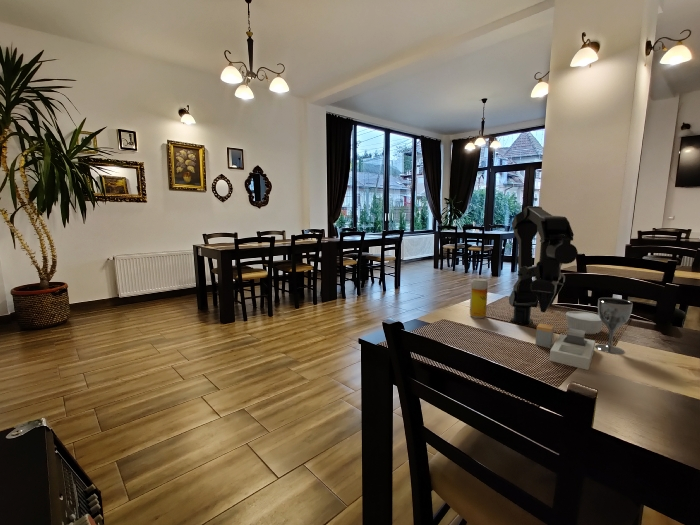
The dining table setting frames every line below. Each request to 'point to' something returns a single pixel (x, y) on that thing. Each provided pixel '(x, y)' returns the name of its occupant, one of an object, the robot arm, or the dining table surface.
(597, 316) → the ramekin
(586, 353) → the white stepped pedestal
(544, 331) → the plug
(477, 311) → the yellow bottle
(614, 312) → the wine glass
